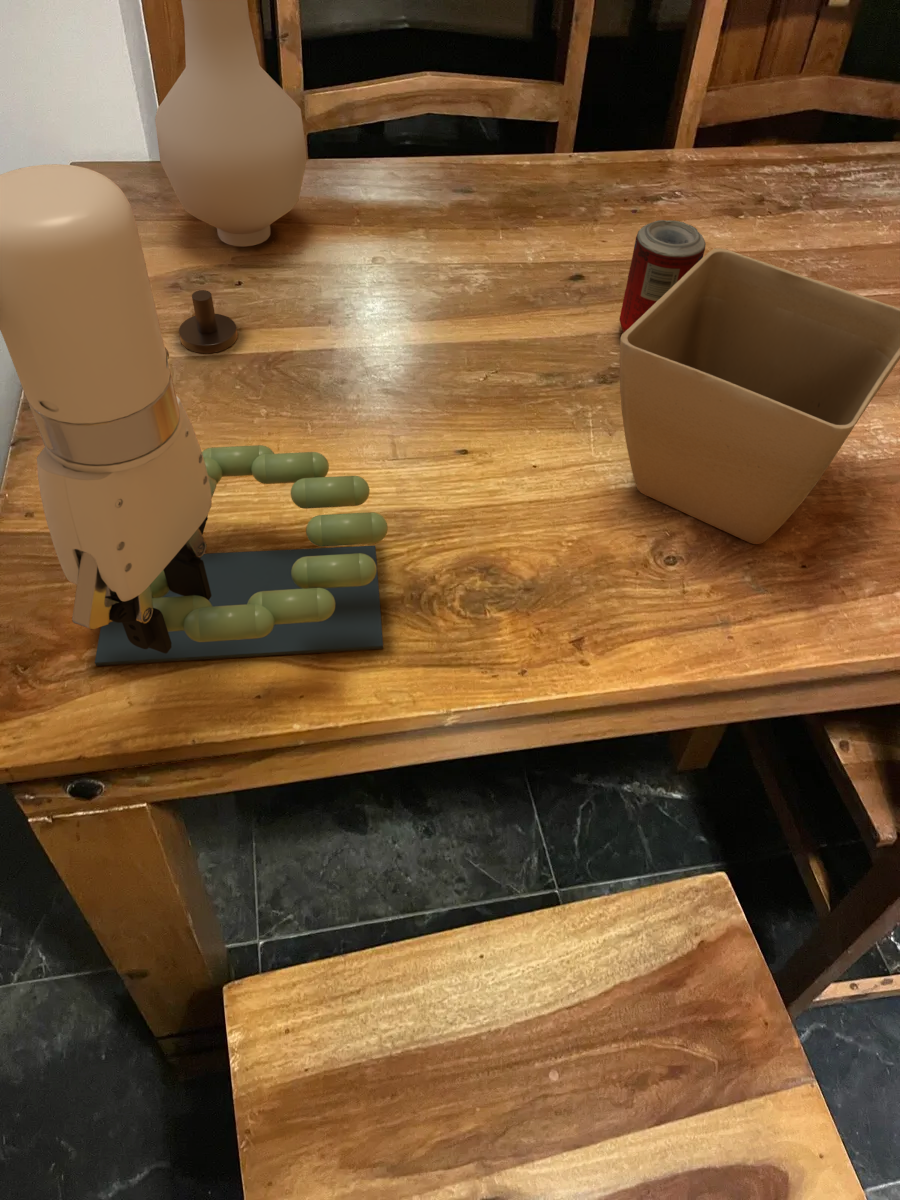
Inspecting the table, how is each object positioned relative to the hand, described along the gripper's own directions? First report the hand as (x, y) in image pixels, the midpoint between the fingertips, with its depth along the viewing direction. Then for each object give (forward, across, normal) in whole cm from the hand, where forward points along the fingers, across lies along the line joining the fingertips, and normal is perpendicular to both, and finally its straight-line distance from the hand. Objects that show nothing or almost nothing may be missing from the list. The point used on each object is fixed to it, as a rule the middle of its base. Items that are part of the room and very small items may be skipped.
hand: (170, 616), depth 65 cm
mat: (+8, -8, 0) cm, 11 cm away
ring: (0, -8, 0) cm, 9 cm away
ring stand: (+8, -39, -23) cm, 46 cm away
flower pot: (+8, -40, +32) cm, 52 cm away
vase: (+8, -60, -31) cm, 68 cm away
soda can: (+8, -61, +20) cm, 64 cm away
